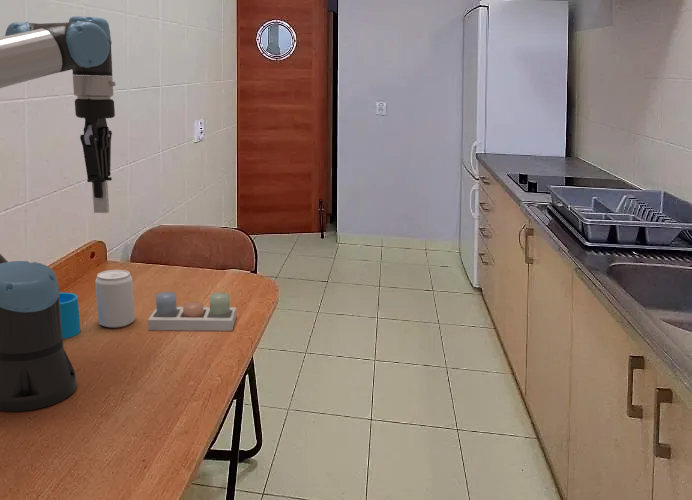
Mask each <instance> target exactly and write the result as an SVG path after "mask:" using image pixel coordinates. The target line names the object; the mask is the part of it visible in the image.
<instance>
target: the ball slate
mask: <svg viewBox="0 0 692 500" xmlns="http://www.w3.org/2000/svg"><path fill="white" fill-rule="evenodd" d="M177 301H178V300H177V294H176V292H173V291H163V292H158V293H157V294H155V305H156V307H155V309H157V312H158V313H161V314H169V313H173V312H176V311H177V307H178V306H177V305H178V303H177Z"/></svg>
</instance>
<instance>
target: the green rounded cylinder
mask: <svg viewBox="0 0 692 500" xmlns="http://www.w3.org/2000/svg"><path fill="white" fill-rule="evenodd" d="M230 298H231V297H230V294H229V293H226V292H214V293H211V294H210V295H209V307H210V312H211V313H213V314H226V313H228V312H229V311H230V307H231V303H230V301H231V299H230Z"/></svg>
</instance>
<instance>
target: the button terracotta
mask: <svg viewBox="0 0 692 500" xmlns="http://www.w3.org/2000/svg"><path fill="white" fill-rule="evenodd" d="M182 307H183V314H184V317H191V318H203V317H204V314H203V307H204V303H203V302H198V301H190V302H186V303H184V304H183V305H182Z"/></svg>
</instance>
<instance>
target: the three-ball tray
mask: <svg viewBox="0 0 692 500" xmlns="http://www.w3.org/2000/svg"><path fill="white" fill-rule="evenodd" d="M203 314H204V317H203V318H191V317H184V314H183V306H177V311H176V312H173V313H169V314H161V313H158V312H157V309H156V308H155V309H154V310H153V312H152V313H151V315H150V316H149V317H148V320H147V324H148V325H147V327H148V328H147V329H148V331H195V332H196V331H197V332H198V331H201V332H203V331H206V332H207V331H208V332H211V331H213V332H215V331H216V332H217V331H218V332H219V331H220V332H223V331H224V332H225V331H227V332H233V328H234V326H235V323H236V319H237V307H235V306H234V307H231V306H230V311H229V312H228V313H226V314H213V313H211V312H210V306H203Z"/></svg>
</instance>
